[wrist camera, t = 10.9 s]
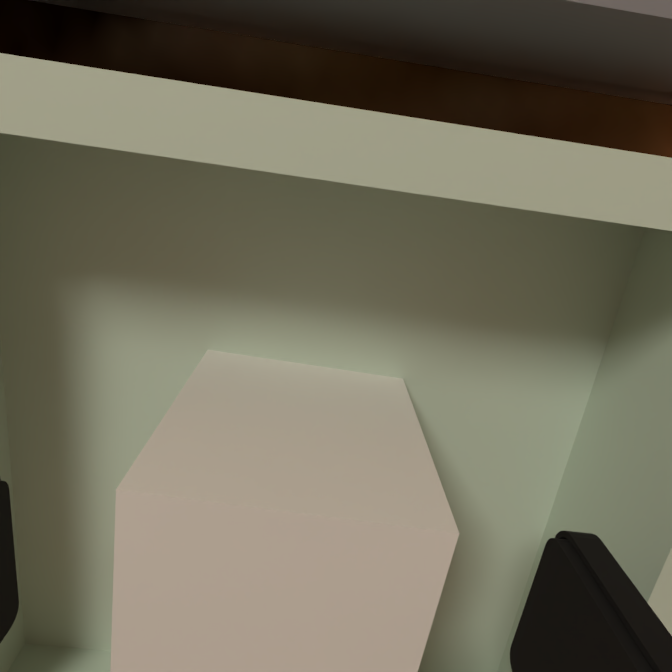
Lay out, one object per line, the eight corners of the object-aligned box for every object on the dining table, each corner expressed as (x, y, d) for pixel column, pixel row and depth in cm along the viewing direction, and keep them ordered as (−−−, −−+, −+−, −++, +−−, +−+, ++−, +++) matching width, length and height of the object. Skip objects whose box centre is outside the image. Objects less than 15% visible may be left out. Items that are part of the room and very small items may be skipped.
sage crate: (-34, 75, 10) (-307, 5, 6) (672, 182, 11) (895, 192, 7) (15, 632, 15) (-112, 822, 10) (503, 674, 16) (570, 864, 11)
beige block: (207, 349, 11) (115, 489, 6) (403, 378, 11) (459, 533, 6) (191, 533, 12) (107, 757, 8) (362, 554, 13) (384, 783, 8)
